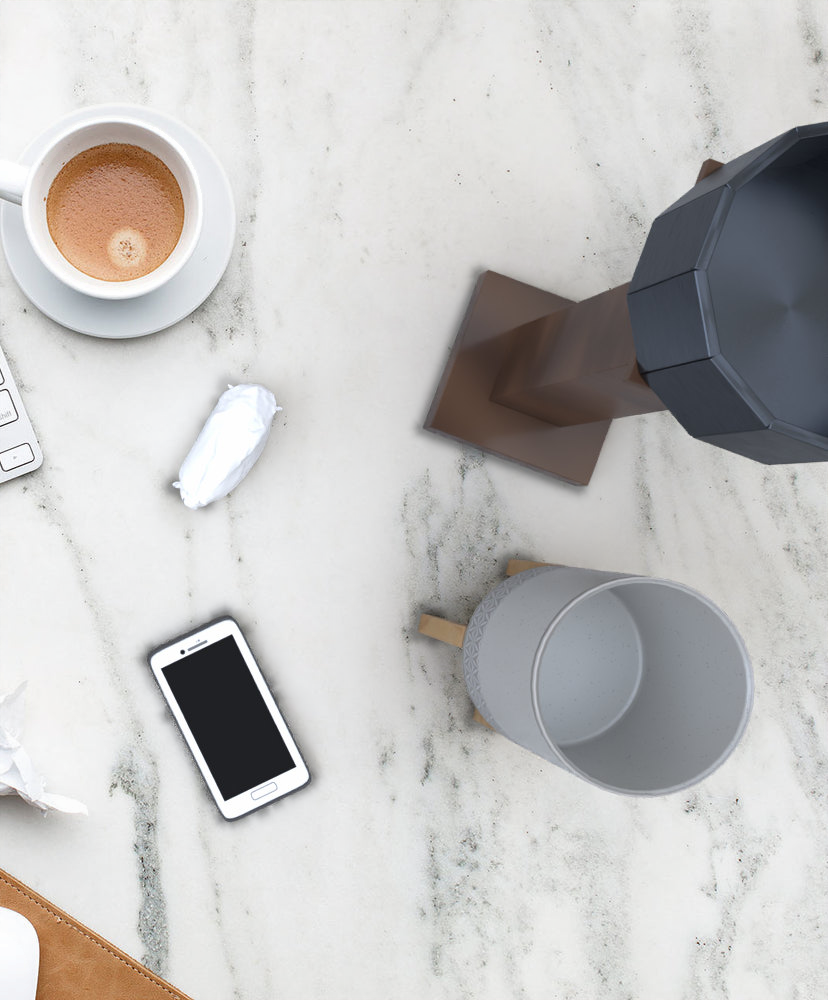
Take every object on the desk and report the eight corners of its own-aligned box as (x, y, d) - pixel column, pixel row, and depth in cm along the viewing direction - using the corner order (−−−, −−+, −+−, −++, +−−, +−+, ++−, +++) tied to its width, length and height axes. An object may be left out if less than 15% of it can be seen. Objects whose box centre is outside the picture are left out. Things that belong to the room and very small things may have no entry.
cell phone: (223, 822, 69) (226, 827, 68) (142, 653, 69) (143, 655, 68) (312, 779, 69) (316, 783, 68) (231, 610, 69) (233, 611, 68)
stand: (479, 274, 70) (703, 145, 45) (634, 331, 70) (945, 234, 45) (422, 428, 70) (614, 385, 45) (577, 486, 70) (856, 475, 45)
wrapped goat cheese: (231, 511, 71) (290, 399, 69) (220, 524, 64) (286, 400, 62) (176, 483, 72) (233, 371, 69) (160, 493, 65) (222, 369, 63)
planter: (437, 542, 70) (560, 554, 52) (598, 579, 70) (777, 604, 52) (401, 703, 70) (511, 770, 52) (562, 740, 70) (728, 820, 52)
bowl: (691, 116, 45) (768, 68, 40) (973, 222, 45) (1086, 186, 40) (586, 398, 45) (650, 385, 40) (869, 504, 45) (969, 504, 40)
